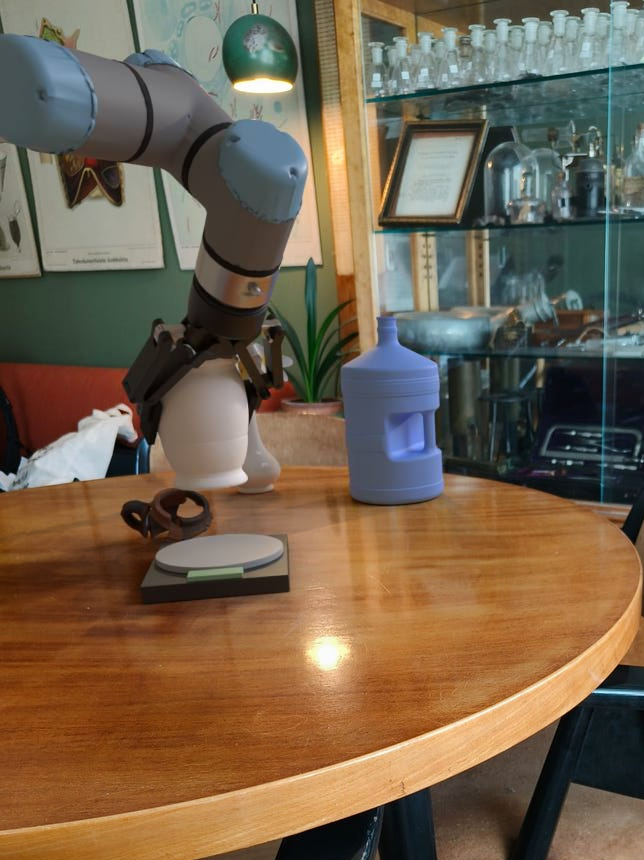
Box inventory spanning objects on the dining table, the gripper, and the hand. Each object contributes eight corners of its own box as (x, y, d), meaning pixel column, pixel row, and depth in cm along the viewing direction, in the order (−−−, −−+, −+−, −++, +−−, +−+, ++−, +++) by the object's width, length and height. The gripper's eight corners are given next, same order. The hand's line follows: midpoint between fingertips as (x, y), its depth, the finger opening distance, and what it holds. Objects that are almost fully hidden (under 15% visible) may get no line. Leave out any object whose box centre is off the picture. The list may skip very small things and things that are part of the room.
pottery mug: (209, 531, 129) (217, 487, 124) (206, 575, 123) (214, 530, 117) (121, 518, 125) (125, 471, 119) (114, 563, 119) (117, 516, 113)
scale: (142, 604, 97) (138, 580, 96) (163, 558, 115) (160, 537, 114) (290, 591, 100) (287, 567, 99) (288, 548, 118) (286, 527, 117)
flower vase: (200, 487, 158) (179, 339, 149) (305, 480, 161) (290, 335, 152) (192, 502, 146) (169, 343, 137) (305, 495, 149) (290, 339, 140)
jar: (169, 497, 98) (147, 356, 93) (160, 482, 107) (139, 352, 102) (265, 487, 102) (248, 351, 97) (248, 473, 111) (232, 348, 106)
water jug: (332, 503, 143) (316, 319, 133) (377, 484, 156) (365, 316, 146) (420, 508, 137) (410, 317, 127) (458, 488, 151) (452, 314, 141)
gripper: (129, 317, 80) (105, 468, 97) (349, 309, 93) (294, 443, 110) (100, 256, 82) (82, 415, 99) (320, 257, 95) (270, 397, 112)
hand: (194, 430), depth 104 cm, fingers closed on jar, 11 cm apart
